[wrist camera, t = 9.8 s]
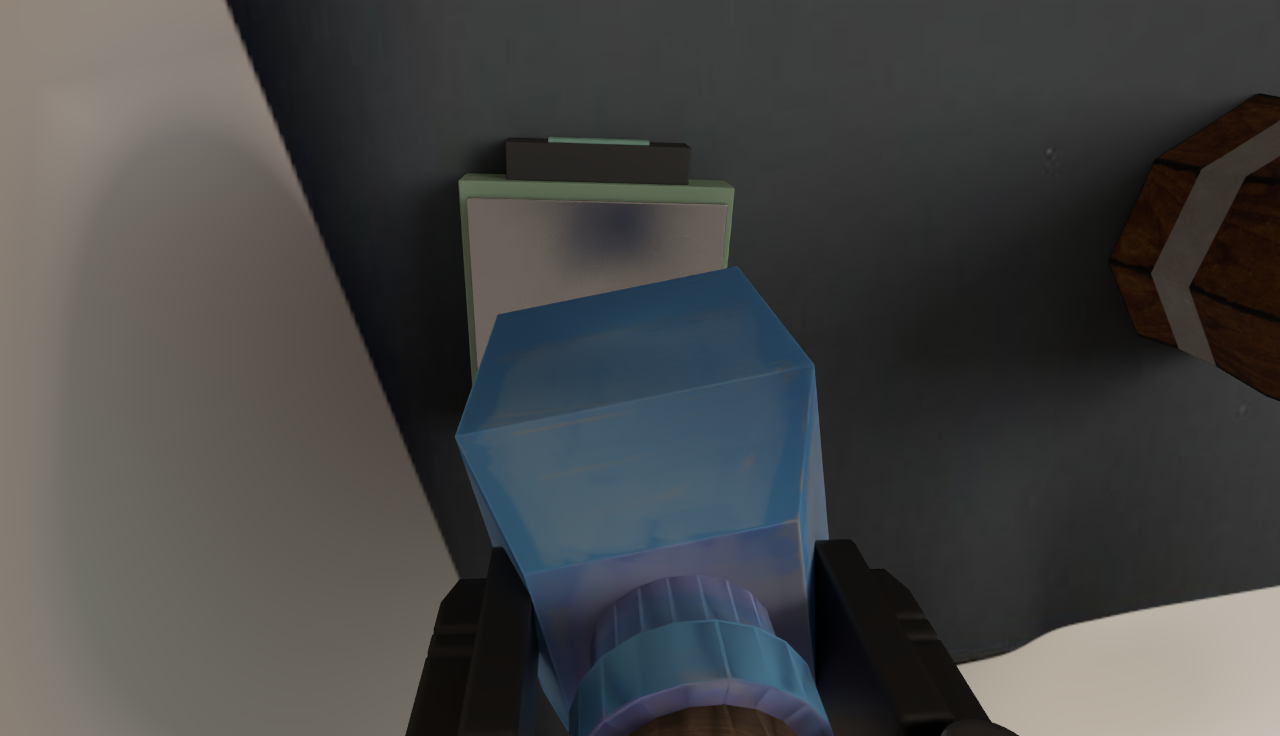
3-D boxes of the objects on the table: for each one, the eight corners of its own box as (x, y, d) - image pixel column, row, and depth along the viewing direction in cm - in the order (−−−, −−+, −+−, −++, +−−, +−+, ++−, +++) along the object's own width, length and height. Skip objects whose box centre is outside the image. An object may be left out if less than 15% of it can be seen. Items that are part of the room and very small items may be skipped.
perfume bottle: (497, 314, 17) (343, 756, 6) (737, 265, 17) (1016, 623, 6) (554, 511, 20) (518, 1069, 9) (763, 469, 20) (991, 978, 9)
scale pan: (484, 418, 33) (481, 430, 32) (470, 192, 29) (466, 197, 28) (703, 418, 34) (707, 430, 33) (722, 199, 30) (728, 204, 29)
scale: (481, 406, 36) (474, 427, 34) (463, 132, 30) (454, 136, 28) (705, 406, 37) (712, 426, 35) (728, 141, 31) (738, 146, 29)
